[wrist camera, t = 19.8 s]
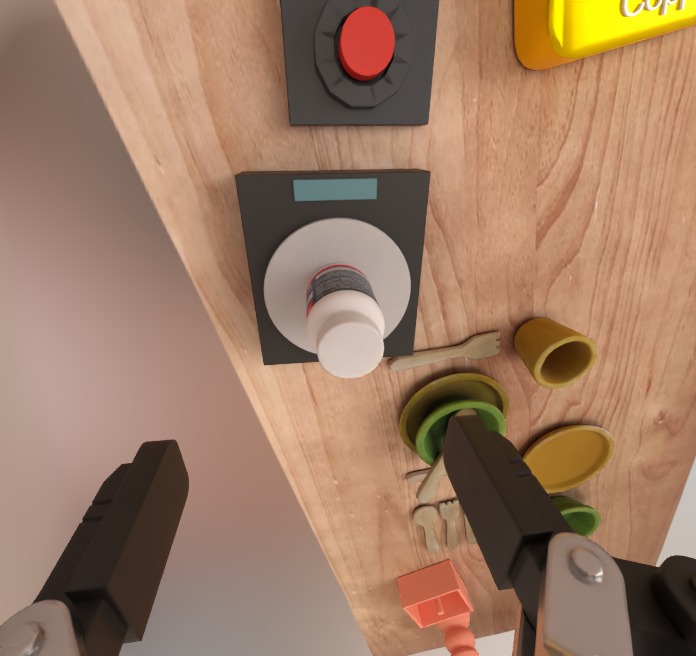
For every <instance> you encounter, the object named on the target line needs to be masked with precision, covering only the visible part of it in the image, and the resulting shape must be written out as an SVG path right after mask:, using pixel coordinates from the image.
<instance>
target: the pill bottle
mask: <svg viewBox="0 0 696 656" xmlns="http://www.w3.org/2000/svg"><path fill="white" fill-rule="evenodd" d="M306 330H307V336H308V339H309V341H310V343H311V345H312V347H313V348H314V349H315V351H316V352H317V355H318V359H319V362H320V364H321V365H322V367H323V368H324V369H325V370H326V371H327V372H328V373H330V374H332V375H334V376H336V377H339V378H345V379H352V378H358V377H361V376H364V375H366V374H368V373H369V372H371V371H372V370H373V369H375V368H376V367H377V365H378V364H379V363H380V361H381V359H382V357H383V353H384V343H383V339H382V338H383V335H384V330H385V322H384V317H383V314H382V311H381V309H380V306H379V304H378V302H377V300H376V298H375V296H374V293H373V291H372V288H371V286H370V283H369V281H368V279H367V277H366V276H365V275H364V273H363V272H362V271H361V270H359V269H358V268H356V267H354V266H352V265H349V264H345V263H334V264H330V265H327V266H325V267H323V268H321V269H320V270H318V271H317V272H316V273H315V274H314V275H313V276H312V278H311V279H310V281H309V283H308V286H307V292H306Z"/></svg>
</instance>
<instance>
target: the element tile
mask: <svg viewBox="0 0 696 656" xmlns="http://www.w3.org/2000/svg"><path fill="white" fill-rule="evenodd" d="M694 25H696V0H514V40H515V49H516V53H517V55H518V58H519V61H520V62H521V63H522V64H523V65H524V66H525V67H526V68H528V69H533V70H544V69H549V68H552V67H555V66H559V65H562V64H566V63H569V62H572V61H576V60H579V59H582V58H586V57H589V56H593V55H596V54H599V53H603V52H606V51H610V50H613V49H616V48H620V47H623V46H627V45H630V44H633V43H637V42H640V41H643V40H647V39H650V38H654V37H657V36H660V35H664V34H667V33H671V32H674V31H677V30H681V29H684V28H688V27H691V26H694Z"/></svg>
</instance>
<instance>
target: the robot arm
mask: <svg viewBox="0 0 696 656" xmlns="http://www.w3.org/2000/svg"><path fill="white" fill-rule="evenodd" d="M443 462H444V466H445V470H446V472H447V475H448V477H449V479H450V482H451V484H452V486H453V488H454V491H455V493H456V495H457V497H458V500H459V502H460V504H461V506H462V509H463V511H464V513H465V515H466V518H467V520H468V522H469V525H470V527H471V529H472V531H473V534H474V536H475V538H476V540H477V543H478V545H479V547H480V549H481V552H482V554H483V556H484V558H485V561H486V563H487V565H488V568H489V570H490V572H491V574H492V577H493V579H494V581H495V583H496V586H497V588H498V590H504V589H511V588H514V590H515V592H516V594H517V596H518V598H519V600H520V602H519V605H518V610H517V619H516V627H515V635H514V644H513V652H512V656H696V559H693V558H689V557H686V556H678V555H675V556H670V557H669V558H667V559H666V560H665V561H664V562H663V563H662V564H661V566H660V567H655V566H650V565H646V564H641V563H637V562H632V561H627V560H623V559H618V558H615V557H612V556H610V555H609V554H608V553H607V552H606V551H605V550H604V549H603V548H602V547H600V546H599V545H598V544H597V543H595V542H593V541H592V540H590V539H588V538H586V537H584V536H582V535H579V534H577V533H576V532H575V531H574V530H573V529H572V528H571V526H570V525H569V524H568V522H567V521H566V519H565V518H564V516H563V515H562V514H561V512H560V511H559V509H558V508H557V506H556V505H555V504H554V502H553V501H552V499H551V498H550V497H549V495H548V494H547V492H546V491H545V489H544V488H543V487H542V485H541V484H540V482H539V481H538V479H537V478H536V477H535V475H533V474H532V471H531V469H530V468H529V467H528V465H527V464H526V462H524V461H523V458H522V457H521V455H520V454H519V452H518V451H517V450H516V448H515V447H514V445H513V444H512V443H511V442H510V441H509V440H508V439H506V438H505V437H504V436H503V435H501V434H500V433H499V432H498V431H496V430H495V431H488V429H487V428H486V426H485V425H484V423H483V422H482V420H481V419H480V417H479V416H478V415H476V414H473V415H461V416H452V417H450V419H449V423H448V428H447V433H446V438H445V443H444V448H443ZM188 490H189V478H188V473H187V470H186V467H185V464H184V461H183V458H182V455H181V452H180V449H179V446H178V443H177V442H176V440H163V441H151V442H145V443H143V444H142V445H141V447H140V448H139V450H138V452H137V454H136V456H135V458H134V460H133V462H132V463H128V464H122V465H121V466H120V467H118V468H117V469H116V471H114V472H113V473H112V474H111V475H110V476H109V477H108V478H107V479H106V480H105V481H104V483H103V484H102V486H101V488H100V489H99V491H98V493H97V495H96V496H95V498H94V500H93V501H92V506H90V507H89V508H88V510H87V512H86V514H85V515H84V517H83V521H82V523H80V524H79V526H78V527H77V529H76V531H75V533H74V535H73V536H72V538H71V540H70V541H69V543H68V545H67V547H66V548H65V550H64V552H63V553H62V555H61V557H60V559H59V560H58V562H57V564H56V566H55V567H54V569H53V571H52V572H51V574H50V576H49V578H48V579H47V581H46V583H45V585H44V586H43V588H42V590H41V591H40V593H39V595H38V596H37V598H36V599H35V600H34V602H33V603H32V604H31V605H30V606H28V607H26V608H24V609H22V610H21V611H19V612H18V613H16V614H15V615H13V616H12V617H10V618H9V619H8V620H7V621H5V622H4V623H3V624H2V625H1V626H0V656H119V652H120V650H121V647H122V644H123V643H130V642H136V641H142V638H143V634H144V631H145V628H146V625H147V622H148V619H149V616H150V613H151V609H152V606H153V603H154V600H155V597H156V594H157V590H158V587H159V584H160V581H161V578H162V575H163V572H164V569H165V565H166V562H167V559H168V556H169V553H170V550H171V546H172V543H173V540H174V537H175V534H176V531H177V528H178V525H179V521H180V518H181V515H182V512H183V509H184V506H185V503H186V499H187V496H188Z"/></svg>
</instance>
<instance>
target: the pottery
mask: <svg viewBox="0 0 696 656" xmlns="http://www.w3.org/2000/svg"><path fill="white" fill-rule="evenodd" d="M397 582H398V586H399V591H400V596H401V601H402V606H403V609H404V610H405V611H406V612H407V613H408V614H409V615H410V616H411V618H412V619H413V620H414V621H415V622H416V623H417V624H418V626H419V627H420V628H421V629H422V628H425V627H428V626H430V625H433V624H437V626H438V627H439V629H440V630H441V631H442V632H444V633H445V634H446V635H445V640H444V641H445V646H446V648H447V650H448V651H449V652H450V653H451V654H452V655H451V656H479V653H478V652H477V651H476V649H474V646H475V638H474V635H473V633H472V632H471V631H470V630H469V629H467V628H468V626H469V623H470V613H469V612H472V611H474V610H473V608H472V605H471V602H470V599H469V596H468V594H467V591H466V588H465V585H464V583H463V581H462V579H461V578H460V576H459V574H458V573H457V571H456V570H455V568H454V566H453V565H452V563H451V561H450V560H446V561H443V562H441V563H438V564H435V565H432V566H430V567H427V568H424V569H421V570H418V571H416V572H413V573H410V574H407V575H405V576H402V577H399V578H397Z"/></svg>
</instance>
